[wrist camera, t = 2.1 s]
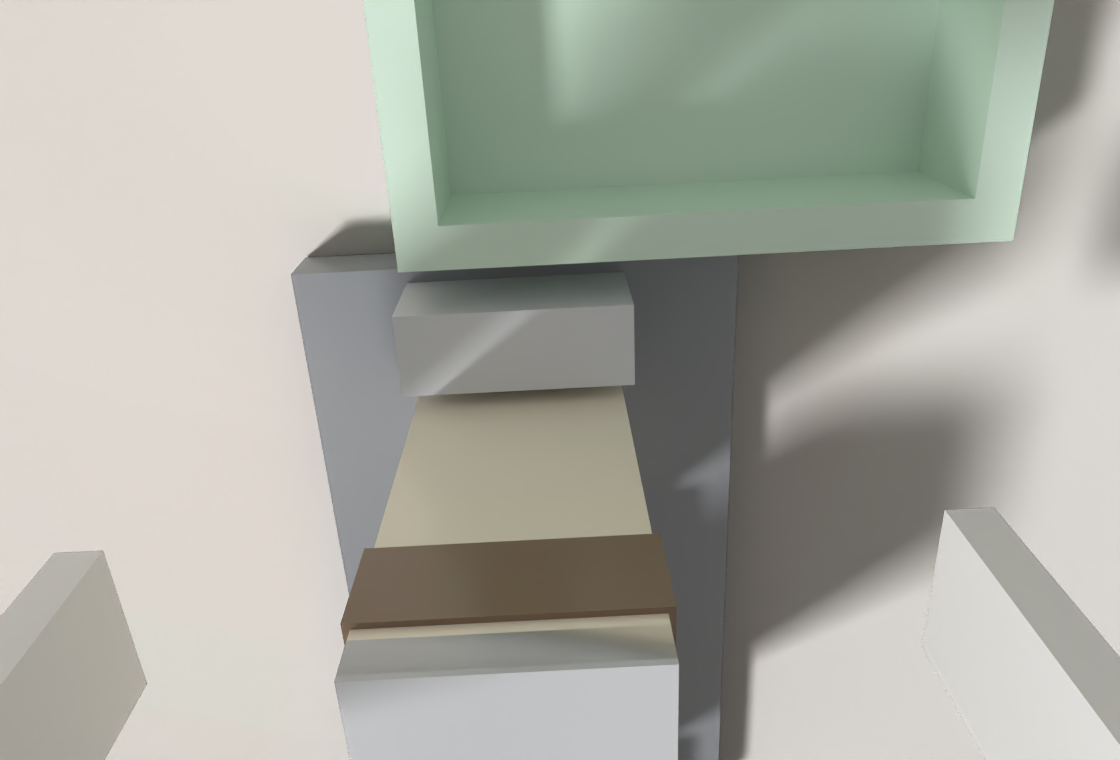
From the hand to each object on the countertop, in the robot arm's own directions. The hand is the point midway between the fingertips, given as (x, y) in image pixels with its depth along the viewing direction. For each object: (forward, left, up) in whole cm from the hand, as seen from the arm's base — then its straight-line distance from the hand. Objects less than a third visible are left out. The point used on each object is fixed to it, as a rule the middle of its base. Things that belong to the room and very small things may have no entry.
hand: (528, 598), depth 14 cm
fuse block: (-4, 0, -7) cm, 8 cm away
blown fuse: (0, 0, -6) cm, 6 cm away
